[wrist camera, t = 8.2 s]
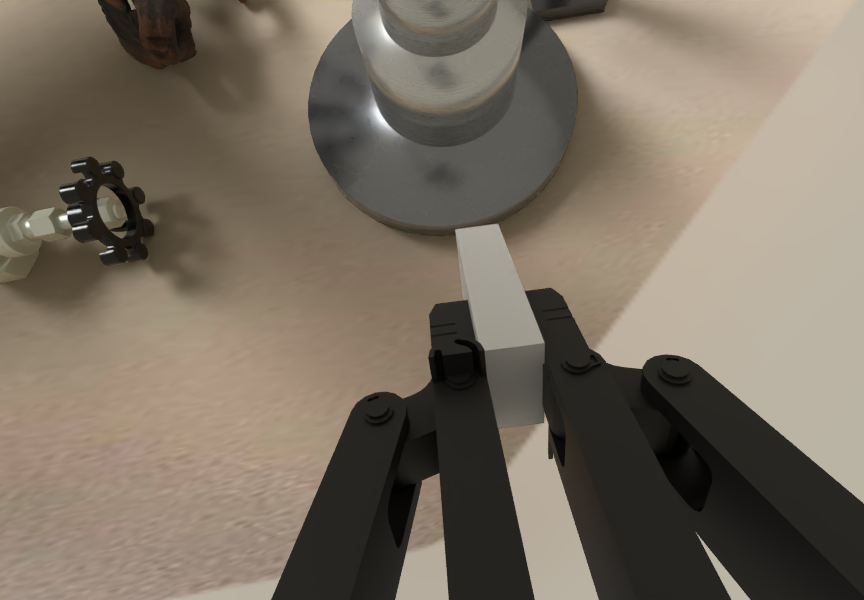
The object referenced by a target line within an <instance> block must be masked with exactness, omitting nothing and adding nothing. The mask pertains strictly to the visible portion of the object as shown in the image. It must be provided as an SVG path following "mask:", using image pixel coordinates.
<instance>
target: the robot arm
mask: <svg viewBox="0 0 864 600" xmlns="http://www.w3.org/2000/svg"><path fill="white" fill-rule="evenodd" d="M455 233H456V242H457V251H458V260H459V269H460V278H461V288H462V296H463V301H456V302H448V303H440V304H435V306H434V307H433V309H432V311H431V313H430V315H429V318H430V332H431V345H432V348H431V350H430V352H429V357H428V358H429V364H430V370H431V376H432V379H431V381H430V382H429V384H428V385H427V386H426V387H425V388H424V389H422V390H421V391H420V392H418V393H416V394H414V395H412V396H409V397H407V398H404V399H402V398H401V397H399V396H398V395H396V394H394V393H389V392H378V393H373V394H371V395H368V396H366V397H364V398H363V399H361V400H360V401H359V402H358V403H357V404H356V405H355V406H354V408H353V409H352V411H351V413H350V416H349V418H348V420H347V423H346V425H345V427H344V430H343V432H342V434H341V437H340V439H339V442H338V444H337V446H336V449H335V451H334V453H333V456H332V458H331V460H330V463H329V465H328V467H327V470H326V472H325V474H324V477H323V479H322V481H321V484H320V486H319V489H318V491H317V493H316V496H315V498H314V500H313V503H312V505H311V507H310V510H309V512H308V514H307V517H306V519H305V521H304V524H303V526H302V529H301V531H300V533H299V536H298V538H297V540H296V543H295V545H294V547H293V550H292V552H291V554H290V557H289V559H288V561H287V564H286V566H285V569H284V571H283V573H282V576H281V578H280V580H279V583H278V585H277V587H276V590H275V592H274V594H273V597H272V599H271V600H395V598H396V593H397V589H398V584H399V580H400V576H401V572H402V567H403V563H404V559H405V554H406V550H407V546H408V541H409V537H410V533H411V528H412V524H413V520H414V515H415V511H416V507H417V502H418V498H419V494H420V489H421V485H422V480H424V479H427V478H429V477H431V476H433V475H435V474H438V473H440V487H441V500H442V513H443V527H444V540H445V553H446V567H447V580H448V593H449V600H535V599H534V594H533V589H532V585H531V580H530V576H529V571H528V567H527V562H526V557H525V552H524V547H523V543H522V538H521V533H520V529H519V525H518V519H517V515H516V511H515V505H514V501H513V496H512V492H511V487H510V483H509V478H508V473H507V468H506V463H505V459H504V454H503V449H502V445H501V440H500V435H499V431H498V429H499V428H507V427H515V426H523V425H531V424H539V423H544V411H545V414H546V418H547V421H548V424H549V431H548V433H549V435H548V455H549V459H552V458H553V454H554V458H555V461H556V464H557V467H558V470H559V474H560V476H561V480H562V483H563V486H564V489H565V493H566V496H567V499H568V502H569V505H570V509H571V512H572V515H573V518H574V521H575V525H576V528H577V531H578V534H579V537H580V540H581V543H582V547H583V550H584V553H585V556H586V559H587V563H588V566H589V569H590V572H591V576H592V579H593V582H594V585H595V588H596V592H597V595H598V598H599V600H731V598H730V596H729V594H728V593H727V591H726V589H725V587H724V585H723V583H722V581H721V580H720V577H719V576H718V574H717V572H716V570H715V568H714V566H713V564H712V562H711V560H710V559H709V557H708V555H707V553H706V551H705V549H704V547H703V545H702V543H701V541H700V539H699V538H698V536H697V534H698V535H699V536H700V538H701V539H702V540H703V541H704V543H705V544H706V545H707V546H708V548H709V549H710V550H711V551H712V553H713V554H714V555H715V556H716V557H717V559H718V560H719V561H720V562H721V563H722V565H723V566H724V567H725V569H726V570H727V571H728V572H729V573H730V575H731V576H732V577H733V579H734V580H735V581H736V582H737V583H738V585H739V586H740V587H741V588H742V590H743V591H744V592H745V593H746V595H747V596H748V597H749V598H750V599H751V600H864V504H863V503H862V502H861V501H860V500H859V499H857V498H856V497H855V496H854V495H853V494H852V493H850V492H849V491H848V490H847V489H846V488H844V487H843V486H842V485H841V484H840V483H839V482H837V481H836V480H835V479H834V478H833V477H831V476H830V475H829V474H828V473H827V472H825V471H824V470H823V469H822V468H821V467H819V466H818V465H817V464H816V463H815V462H814V461H812V460H811V459H810V458H809V457H807V456H806V455H805V454H804V453H803V452H802V451H800V450H799V449H798V448H797V447H796V446H794V445H793V444H792V443H791V442H790V441H789V440H787V439H786V438H785V437H784V436H782V435H781V434H780V433H779V432H778V431H777V430H775V429H774V428H773V427H772V426H770V425H769V424H768V423H767V422H766V421H765V420H763V419H762V418H761V417H760V416H759V415H757V414H756V413H755V412H754V411H753V410H751V409H750V408H749V407H748V406H747V405H746V404H744V403H743V402H742V401H741V400H740V399H738V398H737V397H736V396H735V395H734V394H733V393H731V392H730V391H729V390H728V389H727V388H725V387H724V386H723V385H722V384H721V383H719V382H718V381H717V380H716V379H715V378H713V377H712V376H711V375H710V374H709V373H708V372H706V371H705V370H704V369H703V368H702V367H700V366H699V365H698V364H696V363H694V362H693V361H691V360H689V359H686V358H683V357H680V356H675V355H660V356H654V357H653V358H651V359H649V360H647V362H646V363H645V365H644V366H643V369H636V368H626V367H619V366H614V365H611V364H608V363H606V361H605V360H604V359H603V358H602V357H601V355H600V354H598V353H596V352H595V351H593V350H591V349H589V347H588V345H587V344H586V342H585V340H584V338H583V336H582V334H581V332H580V330H579V328H578V326H577V324H576V322H575V320H574V318H573V317H572V314H571V312H570V310H569V309H568V306H567V304H566V302H565V300H564V298H563V296H562V295H560V294H559V293H557V292H556V291H555V290H553V289H552V288H545V289H538V290H530V291H524V289H523V286H522V284H521V281H520V279H519V276H518V273H517V271H516V268H515V266H514V263H513V261H512V258H511V256H510V253H509V250H508V248H507V245H506V243H505V240H504V238H503V235H502V232H501V230H500V227H499V225H498V224H492V225H485V226H477V227H470V228H463V229H455ZM696 533H697V534H696Z"/></svg>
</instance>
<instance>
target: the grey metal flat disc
mask: <svg viewBox="0 0 864 600" xmlns="http://www.w3.org/2000/svg"><path fill="white" fill-rule="evenodd" d="M577 94H578V92H577V84H576V77H575V73H574V70H573V66H572V63H571V60H570V58H569V56H568V54H567V51H566V49H565V47H564V45H563V44H562V42H561V41H560V39H559V38H558V36H557V35H556V33H555V32H554V31H553V30H552V29H551V27H550V26H549V25H548V24H547V23H546V22H545V21H544V20H543V19H542V18H541V17H540V16H539V15H537V14H536V13H535V12H534V11H533V10H531V9H530V8H528V7H527V14H526V21H525V28H524V34H523V40H522V47H521V53H520V59H519V66H518V72H517V78H516V85H515V91H514V95H513V99H512V102H511V104H510V106H509V109H508V110H507V112H506V114H505V115H504V117H503V118H502V119H501V120H500V122H499V123H498V124H497V125H496V126H495V127H493V128H492V129H491V130H490V131H489V132H487V133H486V134H484V135H483V136H481V137H479V138H477V139H475V140H473V141H470V142H468V143H465V144H461V145H457V146H450V147H432V146H426V145H421V144H418V143H415V142H412V141H410V140H408V139H406V138H404V137H403V136H401V135H400V134H398V133H397V132H396V131H394V130H393V129H392V128H391V127H390V126H389V125H388V124H387V122H386V121H385V120H384V118H383V117H382V115H381V114H380V112H379V109H378V107H377V104H376V101H375V98H374V95H373V91H372V88H371V85H370V81H369V78H368V75H367V72H366V68H365V65H364V62H363V58H362V55H361V52H360V48H359V45H358V42H357V39H356V35H355V32H354V28H353V23H352V19H351V20H350V21H349V22H348V23H347V24H346V25H345V26H344V27H343V28H342V29H341V30H340V31H339V32H338V33H337V34H336V36H335V37H334V38H333V39H332V41H331V42H330V43H329V45H328V46H327V48H326V50H325V51H324V53H323V55H322V56H321V58H320V61H319V63H318V65H317V68H316V70H315V73H314V76H313V80H312V83H311V87H310V94H309V101H308V118H309V124H310V131H311V135H312V138H313V142H314V145H315V148H316V150H317V152H318V154H319V156H320V159H321V161H322V163H323V164H324V166H325V168H326V169H327V171H328V172H329V174H330V176H331V177H332V179H333V180H334V182H335V183H336V185H337V186H338V188H339V189H340V190H341V192H342V193H343V194H344V195H345V196H346V197H347V198H348V199H349V201H350V202H352V203H353V204H354V205H355V206H356V207H358V208H359V209H360V210H361V211H362V212H364V213H366V214H367V215H369V216H370V217H372V218H373V219H375V220H377V221H379V222H381V223H384V224H386V225H388V226H390V227H393V228H396V229H399V230H403V231H406V232H411V233H416V234H422V235H438V236H443V235H456V233H455V229H463V228H470V227H477V226H485V225H492V224H496V223H498V222H500V221H502V220H504V219H506V218H508V217H510V216H511V215H513V214H514V213H516V212H518V211H519V210H521V209H522V208H523V207H525V206H526V205H527V204H528V203H529V202H530V201H532V200H533V199H534V198H535V197H536V196H537V195H538V194H539V193H540V192H541V190H542V189H543V188H544V187H545V186H546V185H547V184H548V182H549V181H550V179H551V178H552V176H553V175H554V173H555V172H556V170H557V168H558V166H559V164H560V162H561V160H562V157H563V155H564V153H565V150H566V148H567V145H568V143H569V140H570V137H571V134H572V131H573V128H574V125H575V119H576V113H577Z"/></svg>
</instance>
